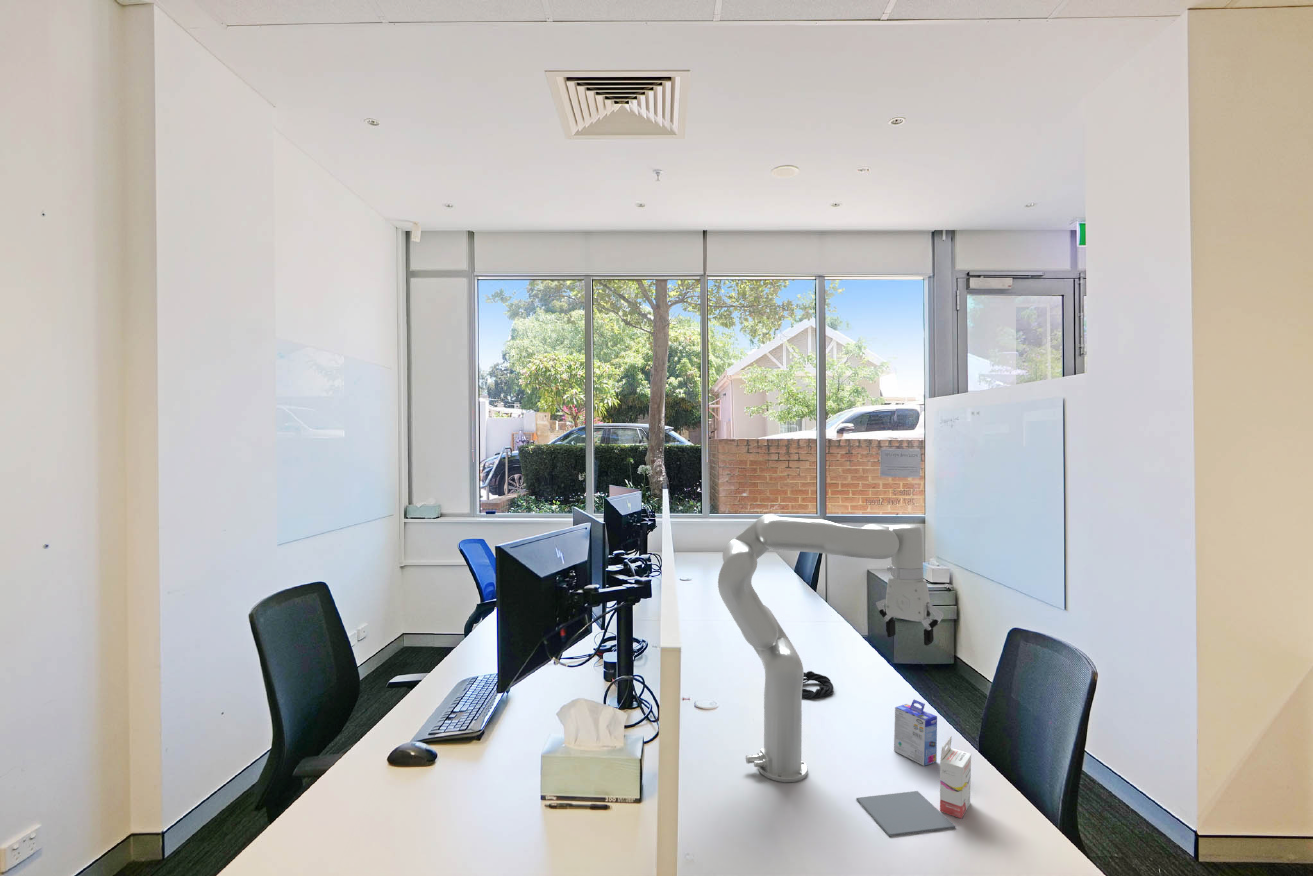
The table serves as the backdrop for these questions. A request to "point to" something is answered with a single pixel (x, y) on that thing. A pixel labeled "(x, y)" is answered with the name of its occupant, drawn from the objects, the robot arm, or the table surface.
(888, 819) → the rubber mat
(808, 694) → the cable
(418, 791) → the table surface
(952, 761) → the ink cartridge box
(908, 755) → the ink cartridge box
